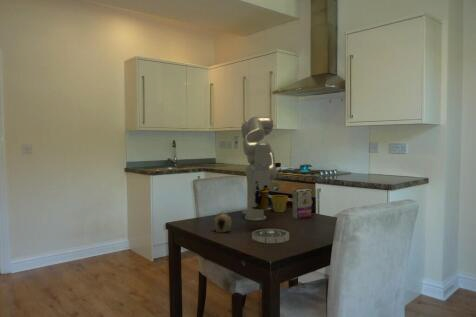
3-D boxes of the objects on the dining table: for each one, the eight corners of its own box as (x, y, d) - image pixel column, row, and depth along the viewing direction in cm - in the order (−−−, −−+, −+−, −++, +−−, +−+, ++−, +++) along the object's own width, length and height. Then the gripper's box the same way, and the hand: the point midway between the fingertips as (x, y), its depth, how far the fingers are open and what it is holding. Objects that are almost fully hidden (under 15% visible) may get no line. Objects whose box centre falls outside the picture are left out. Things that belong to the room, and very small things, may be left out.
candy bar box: (306, 215, 226) (306, 188, 226) (312, 217, 222) (312, 189, 221) (291, 217, 221) (292, 190, 220) (297, 219, 217) (297, 191, 216)
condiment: (271, 208, 191) (272, 185, 190) (258, 210, 186) (258, 186, 185) (263, 206, 197) (263, 183, 196) (249, 208, 192) (249, 184, 191)
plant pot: (277, 213, 233) (277, 197, 233) (268, 210, 242) (268, 195, 242) (290, 212, 238) (290, 196, 238) (281, 209, 247) (281, 194, 247)
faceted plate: (245, 239, 173) (245, 234, 173) (264, 232, 187) (264, 227, 187) (277, 245, 163) (277, 239, 163) (295, 237, 177) (295, 232, 177)
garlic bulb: (215, 235, 190) (210, 215, 192) (230, 230, 193) (225, 212, 195) (219, 233, 182) (214, 213, 184) (235, 229, 185) (230, 209, 186)
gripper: (264, 165, 200) (264, 199, 201) (246, 168, 185) (246, 204, 187) (276, 166, 195) (276, 200, 197) (259, 169, 181) (259, 206, 183)
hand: (261, 202), depth 192 cm, fingers closed on condiment, 6 cm apart
